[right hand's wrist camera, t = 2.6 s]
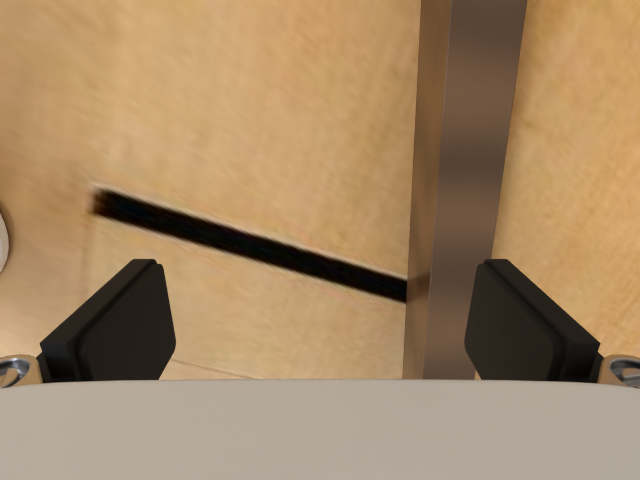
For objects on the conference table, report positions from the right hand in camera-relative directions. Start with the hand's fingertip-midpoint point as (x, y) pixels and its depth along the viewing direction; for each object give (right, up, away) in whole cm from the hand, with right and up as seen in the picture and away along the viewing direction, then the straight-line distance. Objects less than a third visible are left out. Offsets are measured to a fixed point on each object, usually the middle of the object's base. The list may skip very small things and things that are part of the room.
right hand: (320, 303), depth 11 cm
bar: (+11, -7, +26) cm, 29 cm away
